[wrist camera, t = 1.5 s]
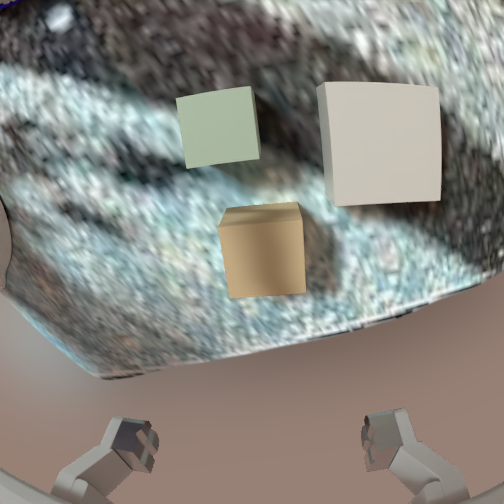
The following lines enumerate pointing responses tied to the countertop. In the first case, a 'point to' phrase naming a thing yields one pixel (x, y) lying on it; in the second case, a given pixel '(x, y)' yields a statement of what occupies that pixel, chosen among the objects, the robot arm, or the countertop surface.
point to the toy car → (7, 4)
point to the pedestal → (380, 142)
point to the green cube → (219, 127)
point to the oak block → (263, 250)
